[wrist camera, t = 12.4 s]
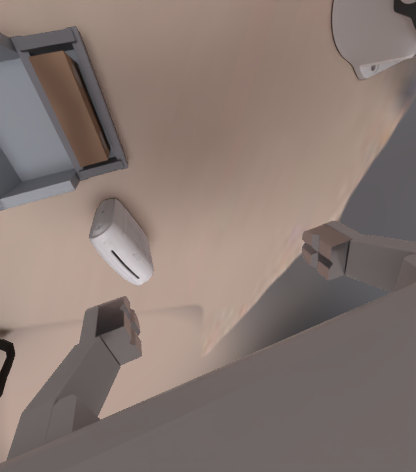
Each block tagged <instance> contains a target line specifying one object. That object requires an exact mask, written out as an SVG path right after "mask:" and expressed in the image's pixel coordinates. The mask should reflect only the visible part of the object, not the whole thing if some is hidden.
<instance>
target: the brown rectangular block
mask: <svg viewBox="0 0 416 472" xmlns="http://www.w3.org/2000/svg"><path fill="white" fill-rule="evenodd" d="M28 58H29V60H30V62H31V64H32V66H33V68H34V70H35V72H36V75H37V77H38V79H39V81H40V83H41V85H42V87H43V89H44V91H45V93H46V95H47V98H48V100H49V102H50V104H51V106H52V108H53V110H54V112H55V114H56V116H57V119H58V121H59V123H60V125H61V127H62V129H63V131H64V133H65V135H66V137H67V139H68V142H69V144H70V146H71V148H72V150H73V152H74V154H75V156H76V158H77V160H78V163H79V165H80V167H83V166H87V165H91V164H95V163H99V162H102V161H106V160H108V158H109V154H110V150H111V148H110V146H109V143H108V141H107V138H106V136H105V133H104V130H103V128H102V125H101V123H100V120H99V118H98V115H97V113H96V110H95V108H94V105H93V103H92V100H91V97H90V95H89V92H88V90H87V87H86V85H85V82H84V80H83V77H82V75H81V72H80V70H79V67H78V64H77V63H76V62H75V61H74V60H73V59H72V58H71V57H70V56H69V55H67V54H66V53H65V52H64V51H58V52H52V53H47V54H41V55H36V56H30V57H28Z"/></svg>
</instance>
